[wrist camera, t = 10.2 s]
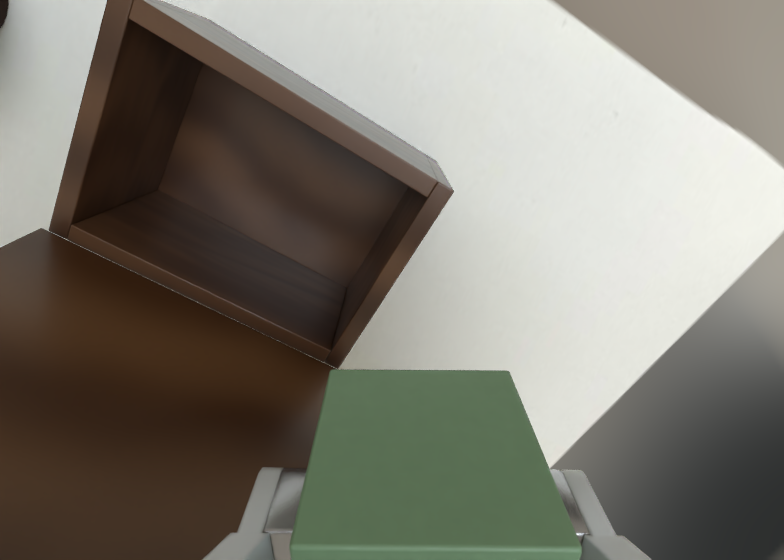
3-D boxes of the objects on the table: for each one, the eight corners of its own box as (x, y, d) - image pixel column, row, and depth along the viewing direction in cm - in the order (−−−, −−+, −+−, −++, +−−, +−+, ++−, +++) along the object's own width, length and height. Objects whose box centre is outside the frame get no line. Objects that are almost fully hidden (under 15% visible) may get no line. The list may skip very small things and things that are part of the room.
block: (329, 368, 11) (287, 547, 6) (509, 369, 11) (585, 549, 6) (338, 494, 12) (309, 696, 8) (491, 495, 12) (540, 699, 8)
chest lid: (-433, 452, 9) (-363, 549, 11) (264, 665, 12) (214, 708, 14) (41, 227, 19) (30, 297, 22) (340, 370, 23) (305, 419, 25)
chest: (207, 18, 24) (111, -20, 16) (437, 161, 27) (454, 191, 19) (148, 191, 28) (47, 230, 20) (353, 298, 31) (338, 369, 23)
